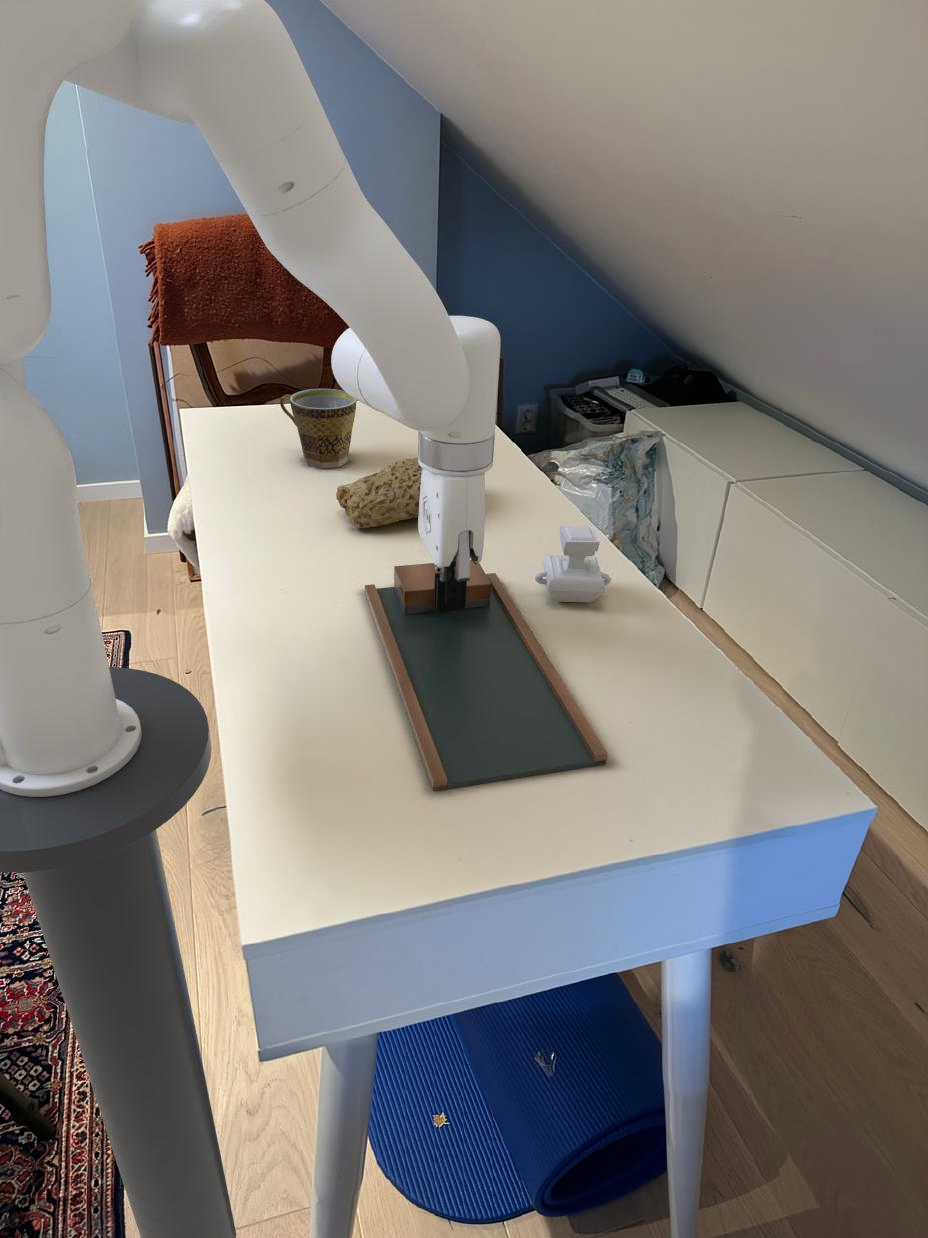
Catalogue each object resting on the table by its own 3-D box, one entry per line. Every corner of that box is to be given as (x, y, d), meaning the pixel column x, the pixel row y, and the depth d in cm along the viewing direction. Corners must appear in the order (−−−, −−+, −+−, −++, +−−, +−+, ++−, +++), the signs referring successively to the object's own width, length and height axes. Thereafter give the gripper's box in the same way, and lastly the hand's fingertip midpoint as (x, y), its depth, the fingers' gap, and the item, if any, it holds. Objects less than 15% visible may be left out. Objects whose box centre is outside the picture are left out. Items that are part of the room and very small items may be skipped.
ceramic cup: (369, 457, 138) (369, 395, 132) (335, 477, 130) (332, 413, 125) (302, 441, 142) (298, 381, 137) (264, 460, 134) (259, 397, 129)
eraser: (404, 614, 96) (404, 591, 95) (394, 588, 101) (394, 565, 100) (489, 606, 99) (491, 583, 97) (475, 581, 104) (477, 559, 102)
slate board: (433, 791, 73) (433, 780, 73) (364, 593, 101) (364, 584, 100) (606, 764, 77) (608, 753, 77) (494, 581, 105) (495, 572, 104)
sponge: (364, 549, 113) (497, 499, 118) (347, 494, 110) (486, 445, 115) (336, 525, 124) (460, 481, 130) (320, 474, 121) (448, 430, 126)
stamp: (604, 582, 106) (613, 520, 101) (612, 610, 100) (623, 546, 96) (531, 580, 106) (537, 517, 101) (535, 608, 100) (542, 543, 95)
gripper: (403, 425, 91) (402, 577, 100) (436, 480, 79) (431, 647, 88) (472, 421, 93) (464, 571, 102) (515, 475, 80) (501, 639, 90)
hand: (449, 606), depth 95 cm, fingers closed
